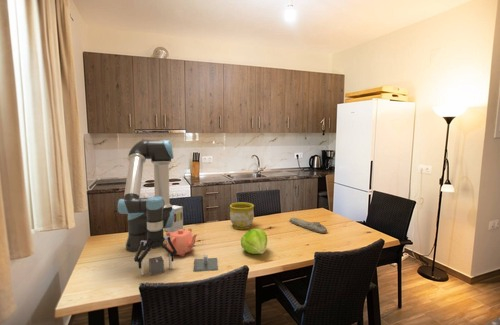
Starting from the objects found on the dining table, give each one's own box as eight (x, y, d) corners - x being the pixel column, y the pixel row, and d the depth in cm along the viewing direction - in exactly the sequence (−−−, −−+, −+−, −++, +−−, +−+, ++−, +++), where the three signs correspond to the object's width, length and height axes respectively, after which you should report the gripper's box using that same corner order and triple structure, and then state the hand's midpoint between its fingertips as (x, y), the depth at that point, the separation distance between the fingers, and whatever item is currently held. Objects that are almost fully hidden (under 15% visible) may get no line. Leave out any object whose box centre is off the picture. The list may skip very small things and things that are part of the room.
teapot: (191, 244, 166) (191, 223, 165) (199, 255, 151) (199, 232, 150) (164, 249, 159) (164, 227, 158) (170, 261, 144) (169, 237, 143)
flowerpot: (231, 222, 209) (231, 202, 208) (254, 223, 209) (254, 202, 207) (228, 230, 191) (228, 208, 190) (253, 231, 191) (253, 208, 189)
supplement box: (173, 233, 186) (172, 209, 185) (164, 230, 191) (163, 207, 189) (183, 229, 194) (183, 206, 193) (174, 227, 199) (173, 204, 197)
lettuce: (247, 262, 143) (247, 237, 142) (237, 247, 162) (237, 225, 161) (274, 258, 148) (274, 234, 147) (261, 244, 167) (261, 223, 166)
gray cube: (149, 270, 135) (148, 258, 134) (161, 267, 137) (161, 255, 137) (151, 275, 129) (150, 262, 129) (164, 272, 132) (163, 260, 132)
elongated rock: (295, 221, 218) (286, 224, 212) (295, 215, 217) (285, 218, 212) (330, 231, 189) (321, 235, 183) (330, 224, 188) (321, 227, 183)
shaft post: (194, 260, 145) (194, 252, 145) (216, 259, 147) (216, 250, 146) (193, 271, 133) (193, 262, 133) (217, 269, 135) (217, 260, 135)
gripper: (128, 235, 122) (130, 280, 124) (182, 227, 134) (183, 268, 136) (126, 230, 129) (128, 273, 131) (178, 223, 141) (179, 262, 143)
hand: (156, 270), depth 133 cm, fingers open, 13 cm apart
